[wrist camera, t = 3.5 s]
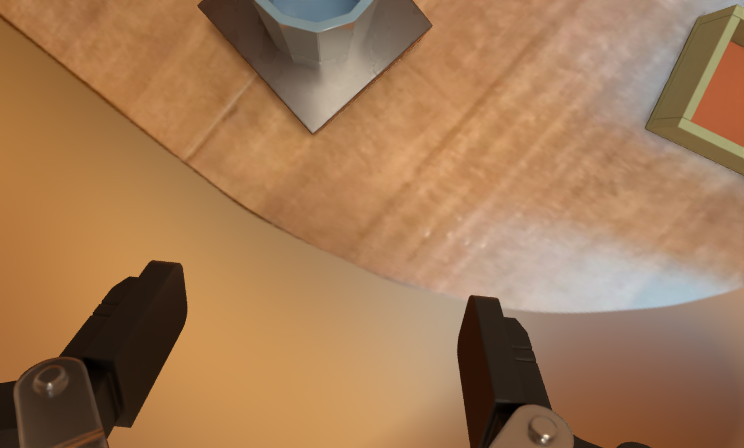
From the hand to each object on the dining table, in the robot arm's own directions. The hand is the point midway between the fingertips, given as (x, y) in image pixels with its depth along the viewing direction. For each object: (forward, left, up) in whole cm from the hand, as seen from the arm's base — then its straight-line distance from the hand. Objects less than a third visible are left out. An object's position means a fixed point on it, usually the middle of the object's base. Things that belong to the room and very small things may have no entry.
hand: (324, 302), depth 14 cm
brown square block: (+3, +12, -22) cm, 25 cm away
